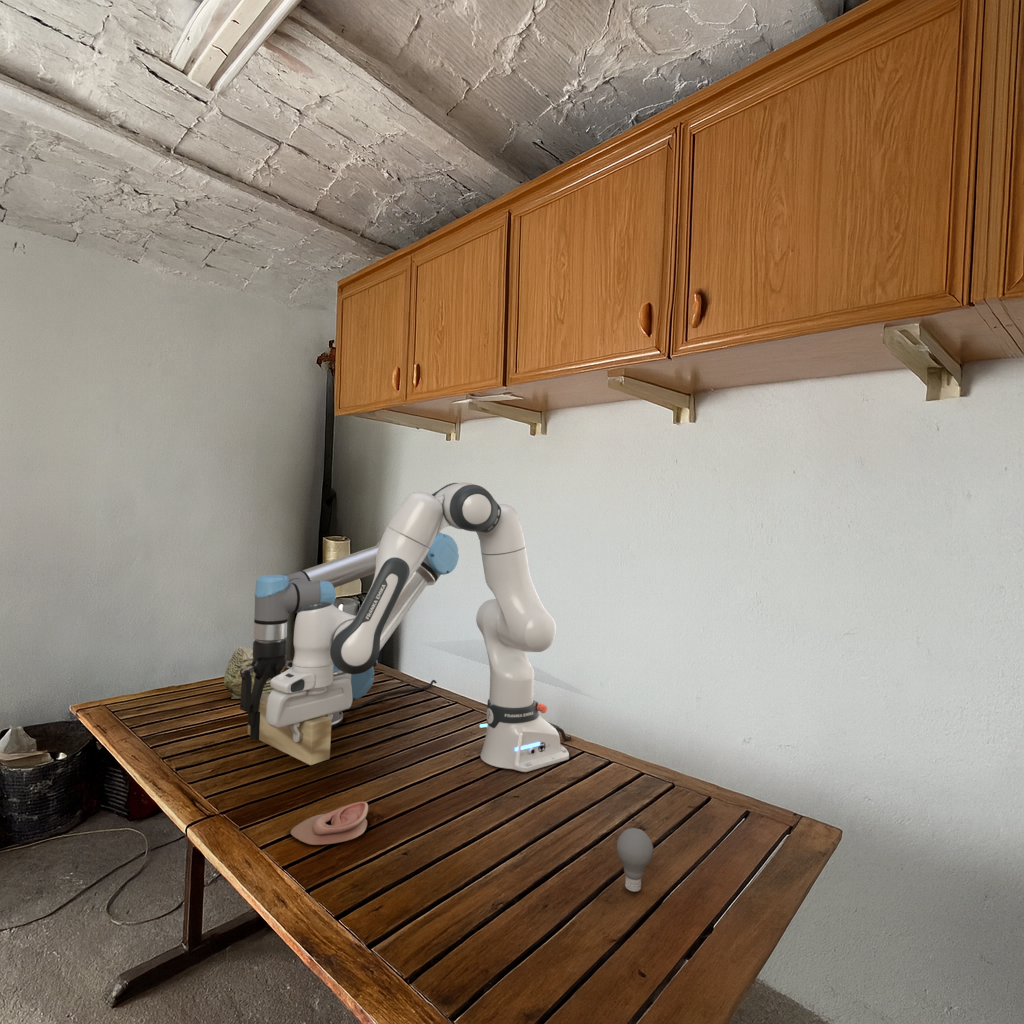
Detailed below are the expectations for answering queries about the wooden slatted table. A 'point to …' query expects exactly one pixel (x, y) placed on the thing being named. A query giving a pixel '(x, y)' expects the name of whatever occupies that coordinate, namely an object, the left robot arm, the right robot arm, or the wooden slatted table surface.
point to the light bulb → (634, 856)
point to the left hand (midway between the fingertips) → (265, 735)
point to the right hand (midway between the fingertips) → (310, 737)
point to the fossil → (232, 675)
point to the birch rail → (308, 749)
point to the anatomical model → (333, 825)
